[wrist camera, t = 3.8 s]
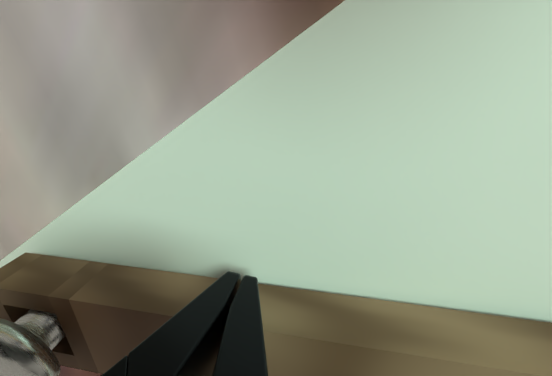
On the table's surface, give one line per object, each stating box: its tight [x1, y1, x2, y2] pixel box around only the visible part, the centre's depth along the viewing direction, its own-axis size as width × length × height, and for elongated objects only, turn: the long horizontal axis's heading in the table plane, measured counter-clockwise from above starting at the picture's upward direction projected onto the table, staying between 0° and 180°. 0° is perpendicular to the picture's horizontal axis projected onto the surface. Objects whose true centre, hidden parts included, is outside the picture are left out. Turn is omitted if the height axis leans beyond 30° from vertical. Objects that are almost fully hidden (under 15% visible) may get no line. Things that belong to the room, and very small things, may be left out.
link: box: [0, 252, 552, 376], centre depth 10 cm, size 20×4×2 cm, turn 90°
